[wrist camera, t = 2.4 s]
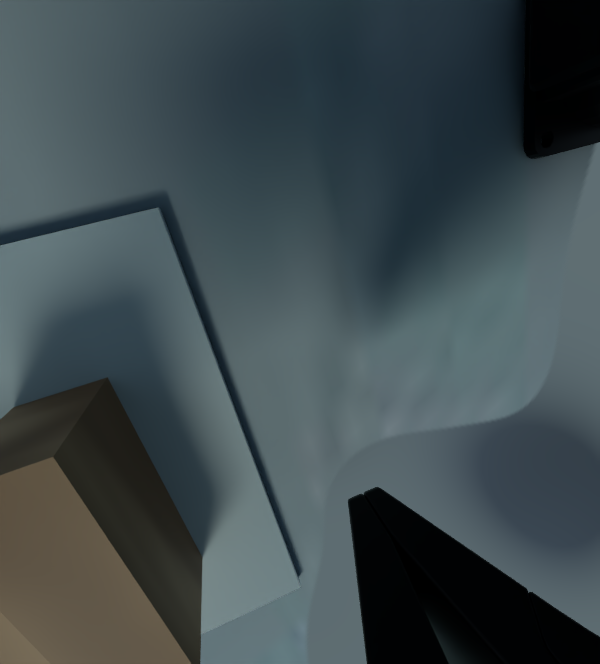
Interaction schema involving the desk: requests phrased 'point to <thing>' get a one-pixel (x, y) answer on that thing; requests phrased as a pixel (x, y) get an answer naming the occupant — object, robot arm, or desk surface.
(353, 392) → the desk surface
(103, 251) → the jig
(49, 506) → the tee
